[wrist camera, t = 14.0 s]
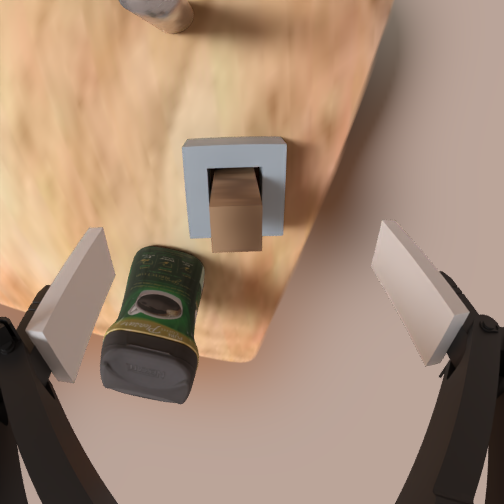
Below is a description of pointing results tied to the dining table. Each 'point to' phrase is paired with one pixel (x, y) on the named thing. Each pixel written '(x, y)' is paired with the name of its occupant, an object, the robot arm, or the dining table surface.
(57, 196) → the dining table surface
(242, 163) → the bore block
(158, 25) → the round bit
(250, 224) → the square bit
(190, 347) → the coffee jar
